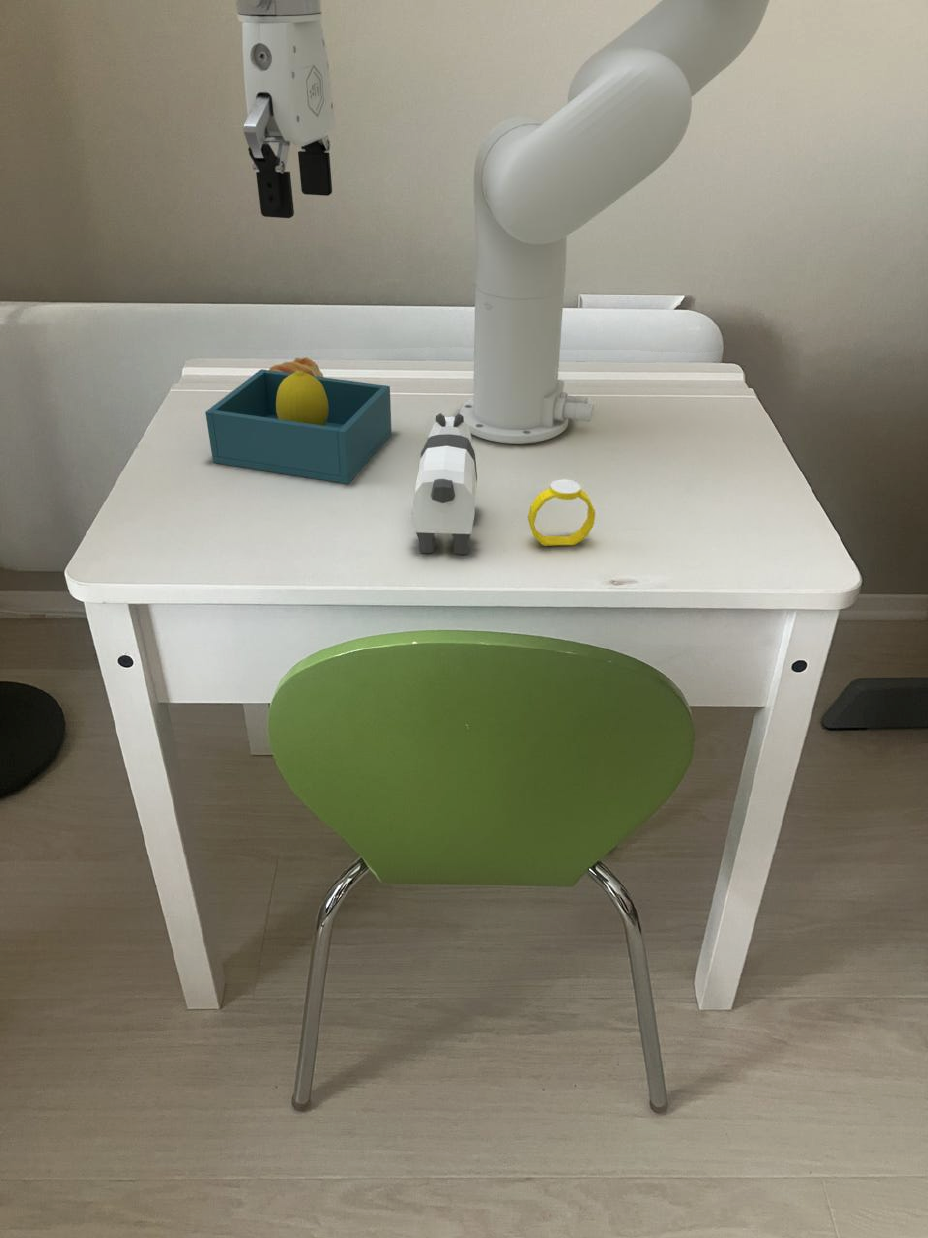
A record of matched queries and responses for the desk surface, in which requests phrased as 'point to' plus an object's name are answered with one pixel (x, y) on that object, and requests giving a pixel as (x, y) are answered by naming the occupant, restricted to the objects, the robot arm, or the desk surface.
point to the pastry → (299, 367)
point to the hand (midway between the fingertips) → (298, 204)
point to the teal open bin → (300, 429)
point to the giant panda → (446, 485)
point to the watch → (564, 492)
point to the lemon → (302, 399)
